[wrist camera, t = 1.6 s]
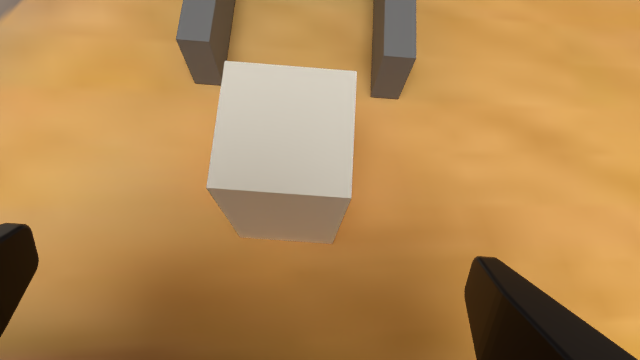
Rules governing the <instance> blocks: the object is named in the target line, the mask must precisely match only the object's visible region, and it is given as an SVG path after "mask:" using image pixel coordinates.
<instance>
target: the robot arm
mask: <svg viewBox="0 0 640 360" xmlns="http://www.w3.org/2000/svg"><path fill="white" fill-rule="evenodd" d="M38 262H39V258H38V253H37V250H36V246H35V242H34V238H33V234H32V231H31V229H30V227H29V226H27V225H26V224H15V223H4V224H1V225H0V337H1V335H2V333H3V332H4V330H5V328H6V326H7V325H8V323H9V321H10V319H11V317H12V315H13V313H14V312H15V310H16V308H17V306H18V304H19V302H20V300H21V298H22V297H23V295H24V293H25V291H26V289H27V287H28V285H29V283H30V281H31V280H32V278H33V276H34V274H35V272H36V270H37V267H38ZM464 295H465V302H466V308H467V313H468V318H469V323H470V328H471V333H472V338H473V343H474V349H475V354H476V358H477V360H638V359H636V358H635V357H633V356H632V355H631V354H629V353H628V352H626V351H625V350H624V349H622V348H621V347H619V346H618V345H617V344H615V343H614V342H613V341H611V340H610V339H608V338H607V337H606V336H604V335H603V334H601V333H600V332H599V331H597V330H596V329H594V328H593V327H592V326H590V325H589V324H588V323H586V322H585V321H583V320H582V319H581V318H579V317H578V316H576V315H575V314H574V313H572V312H571V311H569V310H568V309H567V308H565V307H564V306H563V305H561V304H560V303H558V302H557V301H556V300H554V299H553V298H551V297H550V296H549V295H547V294H546V293H544V292H543V291H542V290H540V289H539V288H538V287H536V286H535V285H533V284H532V283H531V282H529V281H528V280H526V279H525V278H524V277H522V276H521V275H519V274H518V273H517V272H515V271H514V270H513V269H511V268H510V267H508V266H507V265H506V264H504V263H503V262H501V261H500V260H499V259H497V258H495V257H482V256H477V257H476V258H474V260H473V262H472V265H471V268H470V272H469V275H468V279H467V282H466V286H465V294H464Z"/></svg>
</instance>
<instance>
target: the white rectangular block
mask: <svg viewBox="0 0 640 360" xmlns="http://www.w3.org/2000/svg"><path fill="white" fill-rule="evenodd" d="M356 79H357V71H348V70H335V69H322V68H310V67H297V66H284V65H271V64H259V63H246V62H233V61H225V62H224V69H223V76H222V83H221V90H220V97H219V104H218V110H217V117H216V124H215V131H214V138H213V145H212V152H211V159H210V166H209V173H208V180H207V187H206V188H207V190H208V191H209V192H210V194H211V195H212V197H213V198H214V200H215V201H216V203H217V204H218V206H219V207H220V209H221V210H222V212H223V213H224V214H225V216H226V217H227V219H228V220H229V222H230V223H231V225H232V226H233V228H234V229H235V231H236V232H237V233H238V235H239V236H240V237H241V238H255V239H270V240H284V241H298V242H313V243H327V244H332V243H333V241H334V239H335V236H336V234H337V231H338V229H339V227H340V224H341V222H342V219H343V217H344V215H345V212H346V210H347V207H348V205H349V203H350V200H351V194H352V171H353V148H354V125H355V102H356Z"/></svg>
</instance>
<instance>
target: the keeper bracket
mask: <svg viewBox="0 0 640 360" xmlns="http://www.w3.org/2000/svg"><path fill="white" fill-rule="evenodd" d="M234 5H235V0H183V4H182V9H181V15H180V20H179V26H178V31H177V36H176V40H177V43H178V45H179V47H180V50H181V52H182V54H183V56H184V59H185V61H186V63H187V66H188V68H189V70H190V73H191V75H192V77H193V80H194V82H195V83H197V84H210V85H221V83H222V76H223V69H224V62H225V61H227V54H228V47H229V40H230V33H231V26H232V19H233V12H234ZM415 60H416V0H374V9H373V40H372V71H371V97H377V98H390V99H398V98H399V96H400V94H401V91H402V89H403V87H404V85H405V82H406V80H407V78H408V76H409V73H410V71H411V69H412V67H413V64H414V62H415Z"/></svg>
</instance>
